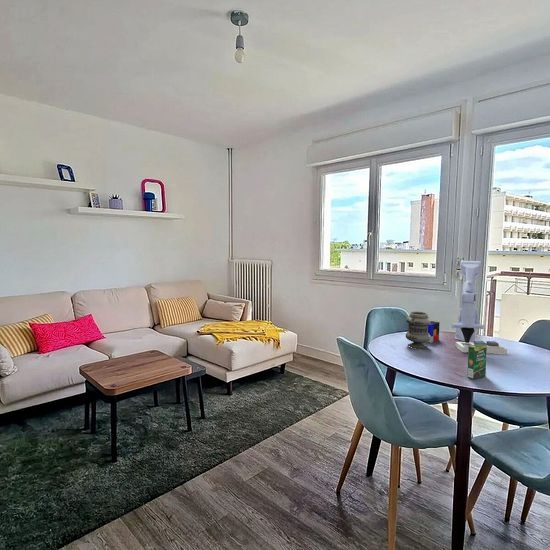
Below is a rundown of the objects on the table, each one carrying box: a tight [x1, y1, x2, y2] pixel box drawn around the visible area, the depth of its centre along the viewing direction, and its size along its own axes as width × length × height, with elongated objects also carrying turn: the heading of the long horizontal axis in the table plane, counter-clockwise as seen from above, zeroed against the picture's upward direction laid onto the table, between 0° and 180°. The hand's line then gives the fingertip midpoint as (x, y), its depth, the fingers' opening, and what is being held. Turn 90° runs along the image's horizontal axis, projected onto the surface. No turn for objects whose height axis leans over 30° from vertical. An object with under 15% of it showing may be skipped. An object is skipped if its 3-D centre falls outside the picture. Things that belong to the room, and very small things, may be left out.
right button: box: [485, 340, 500, 347], centre depth 178 cm, size 4×4×2 cm
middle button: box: [473, 340, 487, 345], centre depth 179 cm, size 4×4×2 cm
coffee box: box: [466, 343, 487, 380], centre depth 141 cm, size 8×3×13 cm, turn 117°
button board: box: [455, 341, 508, 355], centre depth 178 cm, size 20×10×3 cm, turn 81°
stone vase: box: [405, 310, 432, 350], centre depth 183 cm, size 12×12×18 cm
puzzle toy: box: [427, 320, 441, 343], centre depth 198 cm, size 10×10×10 cm
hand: (466, 342), depth 180 cm, fingers closed
